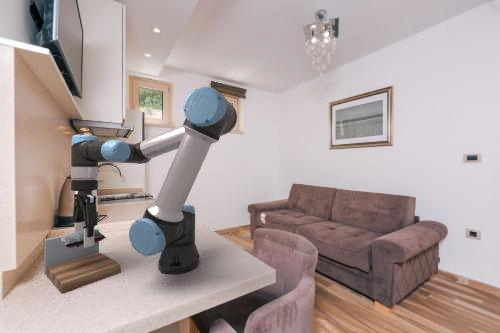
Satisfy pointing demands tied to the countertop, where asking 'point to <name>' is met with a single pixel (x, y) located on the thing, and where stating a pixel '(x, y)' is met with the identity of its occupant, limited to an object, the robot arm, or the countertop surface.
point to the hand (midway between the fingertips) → (84, 243)
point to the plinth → (82, 272)
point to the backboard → (64, 252)
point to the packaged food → (79, 239)
